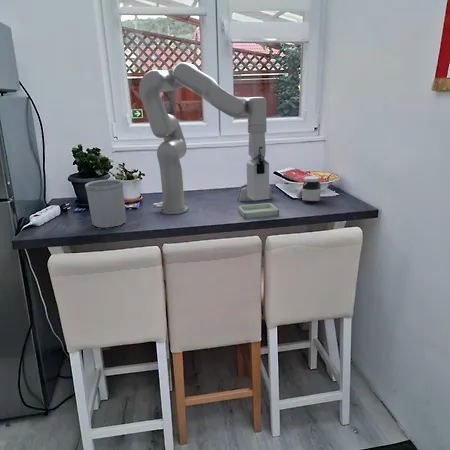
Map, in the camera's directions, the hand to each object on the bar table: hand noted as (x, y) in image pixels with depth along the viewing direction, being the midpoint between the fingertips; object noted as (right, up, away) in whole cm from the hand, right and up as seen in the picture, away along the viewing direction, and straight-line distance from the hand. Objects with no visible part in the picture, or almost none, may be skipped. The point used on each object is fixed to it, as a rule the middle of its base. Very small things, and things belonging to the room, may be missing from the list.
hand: (257, 171), depth 164 cm
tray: (+1, -17, +6) cm, 18 cm away
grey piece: (+1, -10, +28) cm, 30 cm away
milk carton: (0, -11, +4) cm, 12 cm away
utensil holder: (-62, -22, +1) cm, 66 cm away
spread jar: (+26, -11, +22) cm, 36 cm away
